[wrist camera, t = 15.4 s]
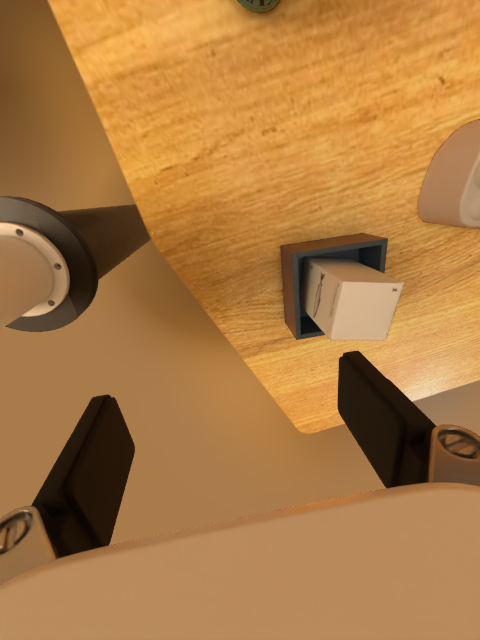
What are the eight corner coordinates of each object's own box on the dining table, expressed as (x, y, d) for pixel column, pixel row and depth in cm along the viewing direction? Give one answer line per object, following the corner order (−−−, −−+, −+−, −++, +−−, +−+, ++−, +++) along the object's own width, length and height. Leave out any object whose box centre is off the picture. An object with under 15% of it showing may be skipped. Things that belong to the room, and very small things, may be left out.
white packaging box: (303, 255, 40) (343, 278, 28) (351, 258, 41) (408, 281, 29) (295, 302, 43) (328, 341, 31) (339, 304, 44) (387, 342, 32)
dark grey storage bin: (285, 322, 44) (296, 339, 39) (280, 245, 39) (292, 253, 34) (358, 310, 45) (379, 325, 40) (363, 232, 40) (388, 238, 34)
